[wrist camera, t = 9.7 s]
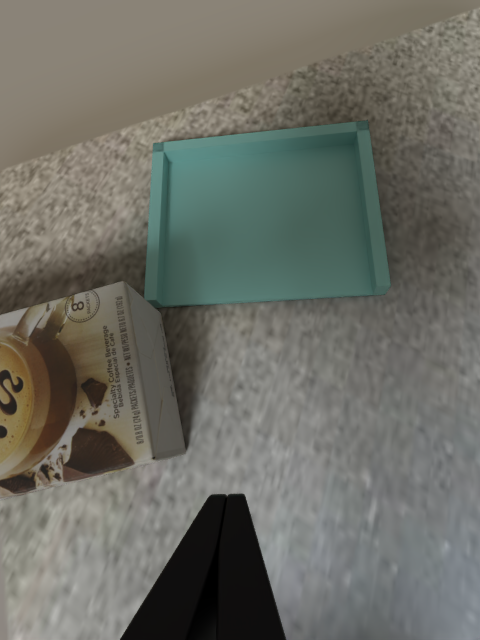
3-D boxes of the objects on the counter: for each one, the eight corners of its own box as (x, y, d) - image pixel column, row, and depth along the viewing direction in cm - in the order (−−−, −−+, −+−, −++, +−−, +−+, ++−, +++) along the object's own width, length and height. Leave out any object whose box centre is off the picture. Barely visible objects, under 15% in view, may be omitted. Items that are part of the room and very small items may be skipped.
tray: (384, 294, 24) (391, 285, 22) (151, 307, 26) (143, 300, 24) (363, 136, 27) (367, 120, 26) (159, 157, 29) (153, 143, 28)
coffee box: (153, 462, 16) (-189, 551, 17) (190, 453, 23) (-64, 519, 23) (122, 274, 19) (-173, 357, 20) (162, 311, 25) (-65, 374, 26)
